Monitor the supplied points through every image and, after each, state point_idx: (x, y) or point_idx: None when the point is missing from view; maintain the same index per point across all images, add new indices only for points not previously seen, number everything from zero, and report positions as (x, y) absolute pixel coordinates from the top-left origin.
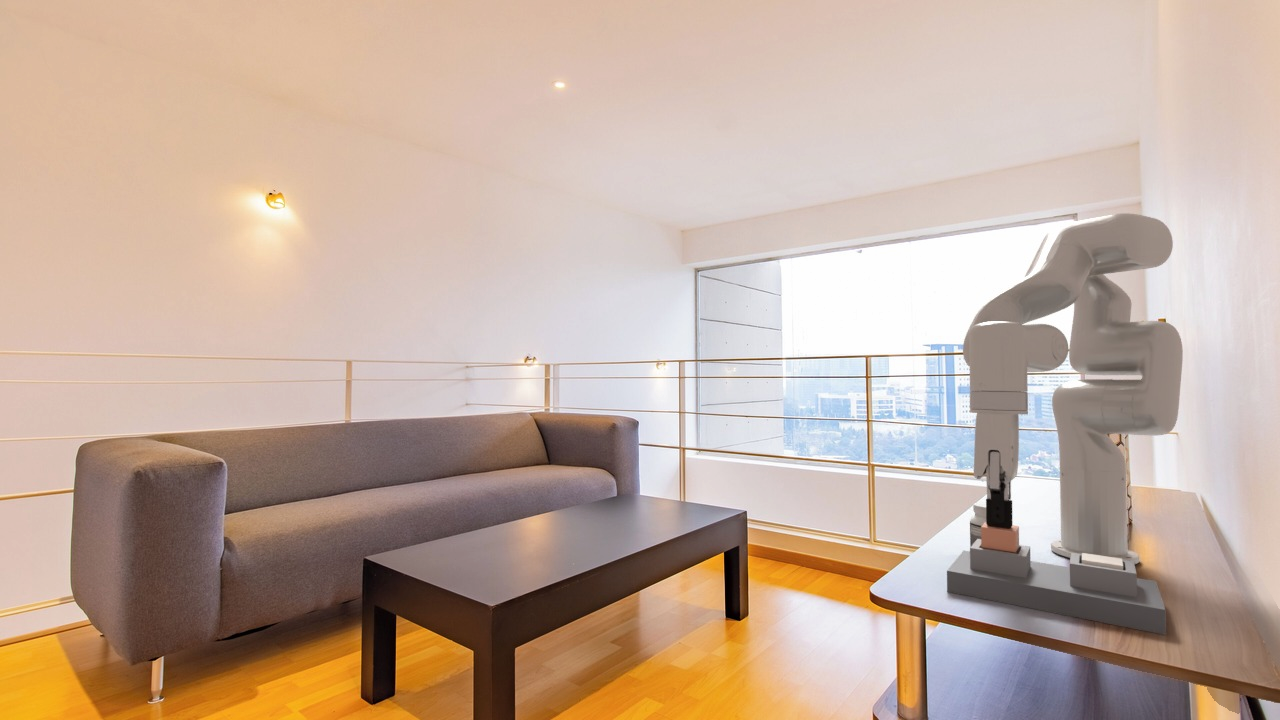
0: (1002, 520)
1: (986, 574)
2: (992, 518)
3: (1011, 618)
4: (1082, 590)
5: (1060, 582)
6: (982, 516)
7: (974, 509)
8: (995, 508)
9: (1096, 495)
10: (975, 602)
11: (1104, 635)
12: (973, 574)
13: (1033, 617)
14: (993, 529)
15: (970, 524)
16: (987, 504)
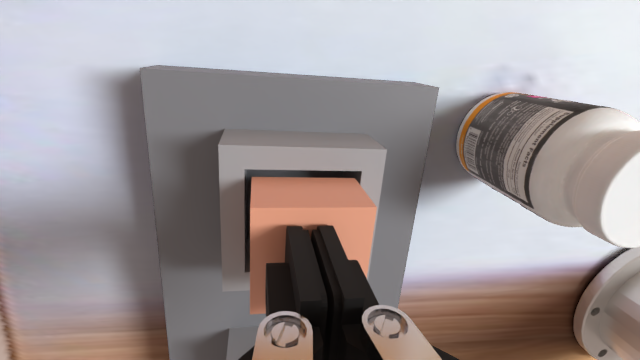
0: (265, 299)
1: (187, 174)
2: (267, 267)
3: (61, 216)
4: (207, 347)
5: (244, 312)
6: (580, 163)
7: (630, 138)
8: (267, 313)
9: None
10: (120, 139)
11: (104, 343)
12: (157, 144)
13: (110, 249)
14: (250, 247)
15: (577, 109)
16: (298, 285)
